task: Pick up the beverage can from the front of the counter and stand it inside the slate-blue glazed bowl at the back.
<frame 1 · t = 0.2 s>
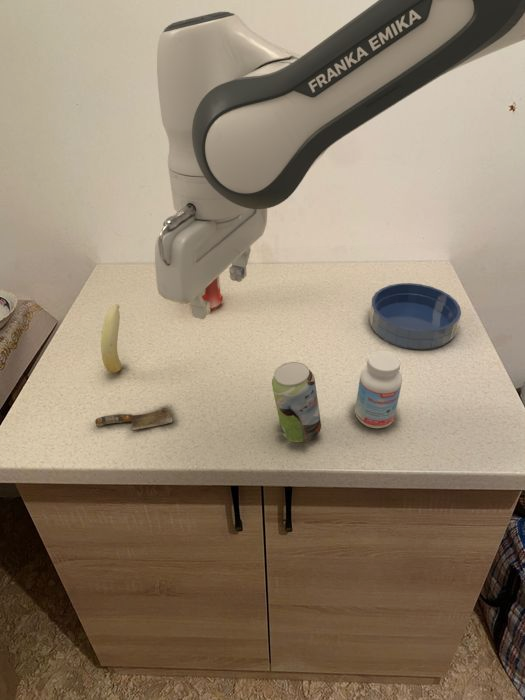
hand: (220, 296, 64), 23 cm above the countertop, tool pointing down, fingers open, 8 cm apart
liquor: (206, 305, 104), on the countertop
bowl: (411, 324, 97), on the countertop
beverage can: (296, 432, 76), on the countertop
meat cleaver: (136, 420, 79), on the countertop
fruit: (120, 370, 88), on the countertop
pill bottle: (374, 416, 79), on the countertop
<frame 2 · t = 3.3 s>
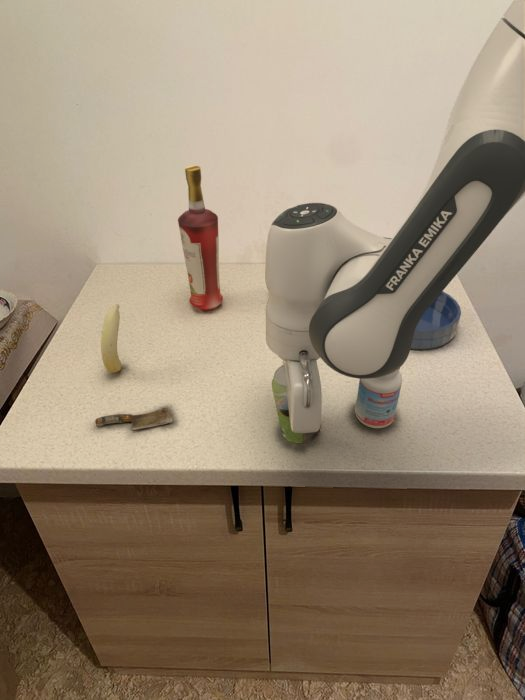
hand: (296, 406, 73), 5 cm above the countertop, tool pointing down, fingers closed on beverage can, 6 cm apart
beverage can: (296, 433, 76), on the countertop, touching gripper
everything else where it was.
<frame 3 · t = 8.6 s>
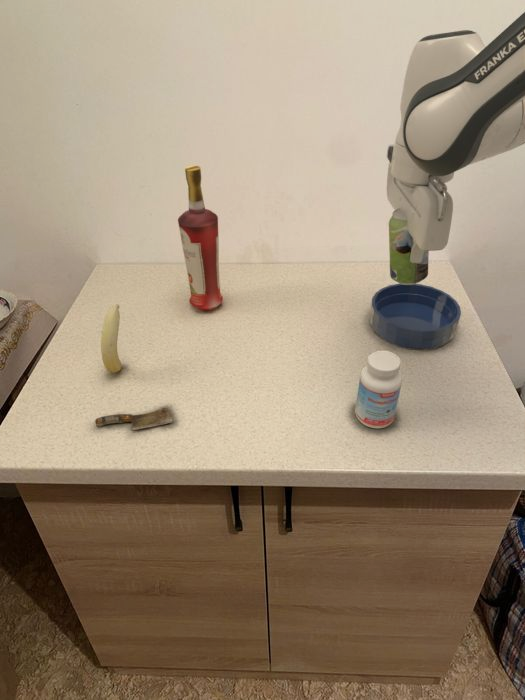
hand: (408, 250, 81), 19 cm above the countertop, tool pointing down, fingers closed on beverage can, 5 cm apart
beverage can: (403, 280, 84), point 14 cm above the countertop, touching gripper
everything else where it was.
when the fingers open (6 cm above the countertop, at t = 14.0 s): beverage can stays where it is, resting on bowl.
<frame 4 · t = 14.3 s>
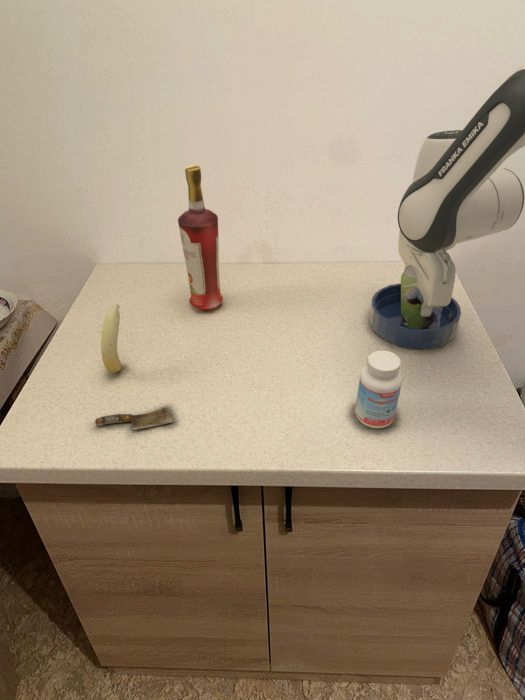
hand: (416, 300, 94), 6 cm above the countertop, tool pointing down, fingers open, 8 cm apart
beverage can: (412, 324, 97), resting on bowl
everything else where it was.
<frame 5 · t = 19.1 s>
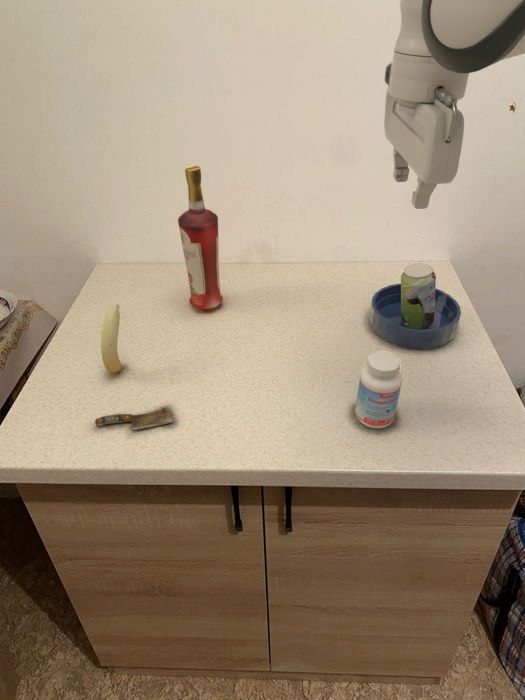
hand: (409, 192, 68), 31 cm above the countertop, tool pointing down, fingers open, 8 cm apart
nothing on the countertop moved.
at the end: beverage can inside the target area in the bowl (0.5 cm from its centre), point 0.4 cm above the bowl's base; beverage can tilted 0°; the gripper is holding nothing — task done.
